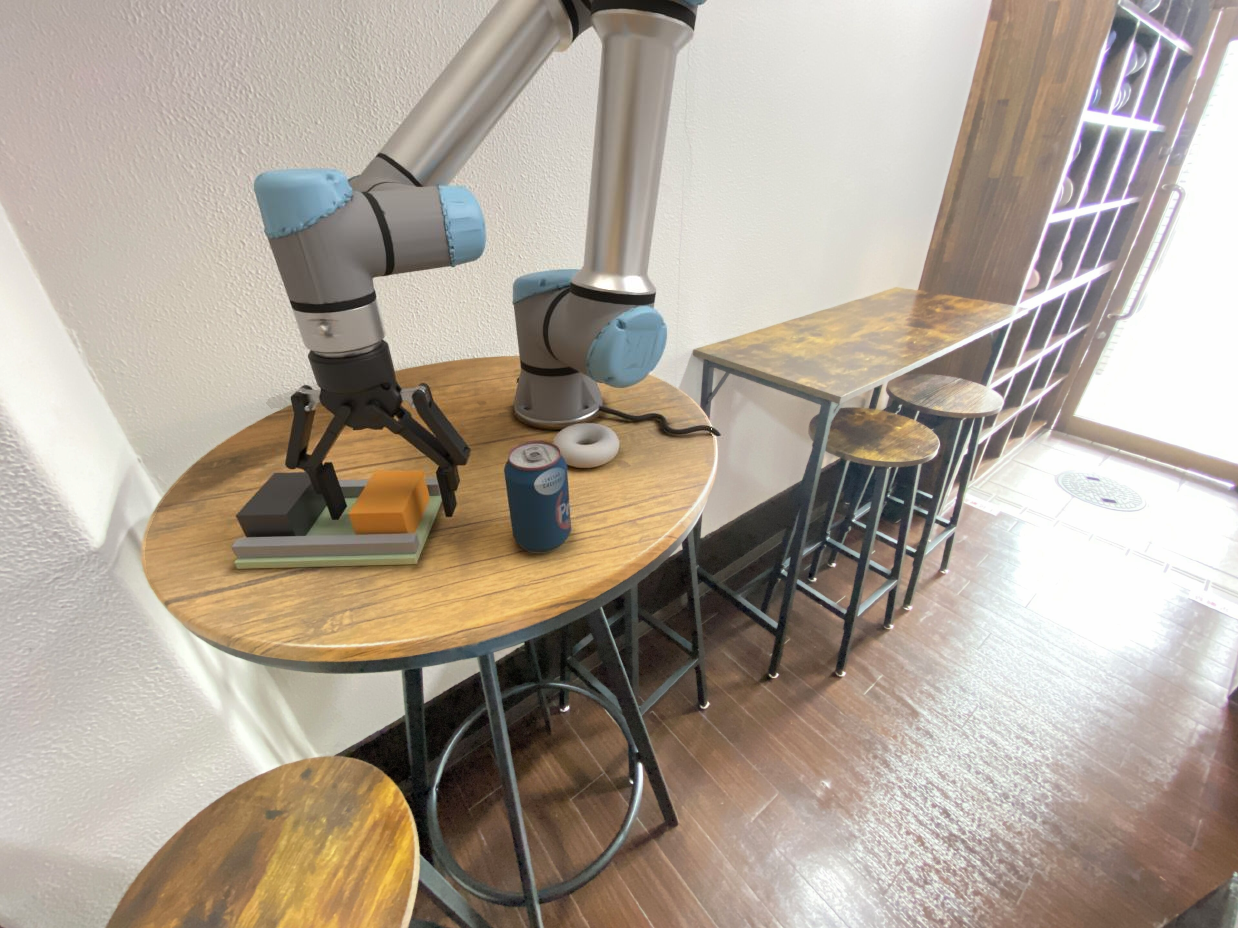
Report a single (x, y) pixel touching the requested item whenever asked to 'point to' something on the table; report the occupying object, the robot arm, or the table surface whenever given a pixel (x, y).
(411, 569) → the table surface
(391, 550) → the board
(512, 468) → the soda can
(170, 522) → the table surface
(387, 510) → the matte orange brick
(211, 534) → the table surface
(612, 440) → the donut
